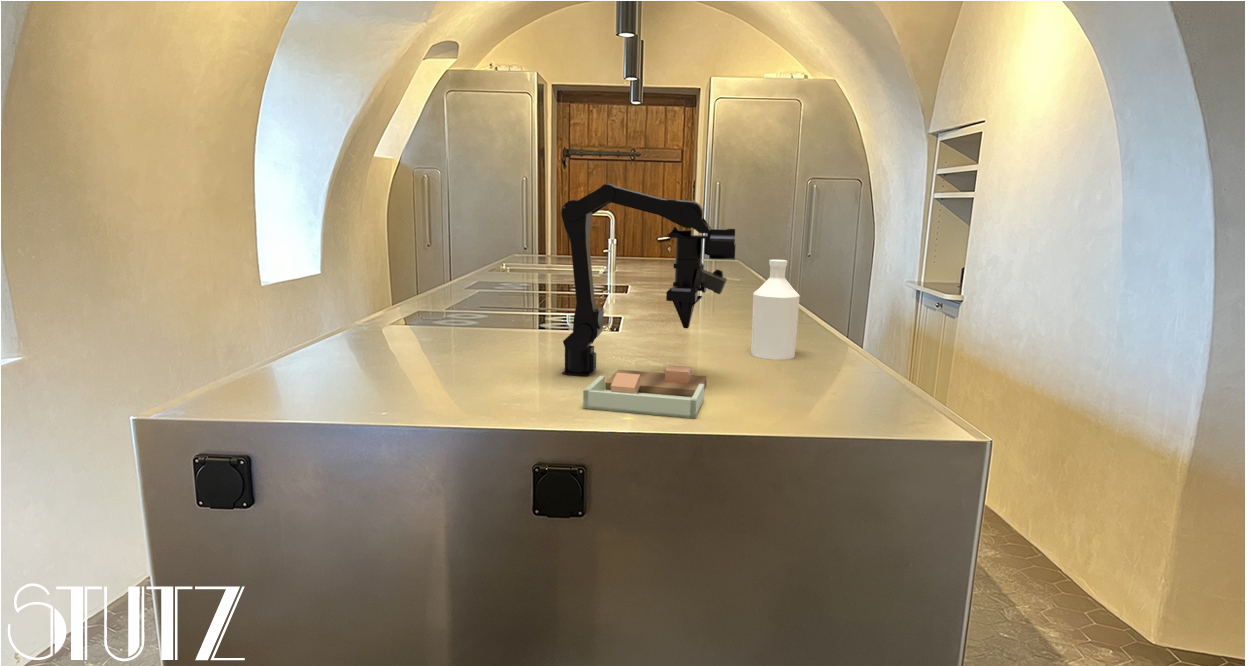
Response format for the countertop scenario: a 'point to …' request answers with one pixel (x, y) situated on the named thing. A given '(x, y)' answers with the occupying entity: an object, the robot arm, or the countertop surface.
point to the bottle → (775, 316)
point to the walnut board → (662, 384)
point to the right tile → (678, 374)
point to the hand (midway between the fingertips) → (686, 328)
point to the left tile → (626, 383)
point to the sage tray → (642, 401)
